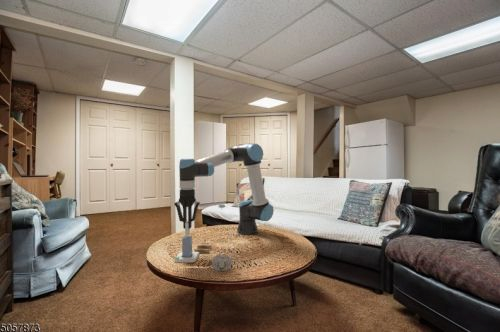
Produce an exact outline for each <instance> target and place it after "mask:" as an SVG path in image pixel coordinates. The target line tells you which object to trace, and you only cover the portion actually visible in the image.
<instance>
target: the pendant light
mask: <svg viewBox="0 0 500 332" xmlns="http://www.w3.org/2000/svg"><path fill="white" fill-rule="evenodd" d="M217 207H218V208H220V209H224V208H226V205H225V204H218V206H217ZM232 263H233V261H232V258H231V257H230V256H229V255H228V254H225V253H224V254H223V253H221V254H217V255H215V256H214V257H213V258H212V259H211V266H212V268H213V269H214V270H216V271H218V272H221V271H227V270H229V269H230V267H232Z"/></svg>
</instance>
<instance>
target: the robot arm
mask: <svg viewBox="0 0 500 332" xmlns="http://www.w3.org/2000/svg"><path fill="white" fill-rule="evenodd" d="M263 157H264V150H263V148H262V146H261V145H259V144H258V143H243V144H238V145H237V144H236V145H234V146H232V147H229V148H226V149H224V151H221V152H218V153H214V154H213V155H209V156H205V157H202V158H199V159H197V160H195V159H194V158H180V159H179V167H178V168H179V171H178V172H179V199H178V201H175V202H174V206H175V208H176V210H177V215H178V216H177V217H178V219H179V222H182V223H183V229H184V230H185V235H184V236H190V234H191V233H190V230H191V228H192V223H193V222H194V221H195V220H196V218H197V212H198V209H199V206H200V204H201V202H200V201H197V200H196V195H195V194H196V190H195V186H196V185H195V182H196V180H195V179H196V177H201V178H202V177H211V176H213V175H214V173H215V168H216V167H220V166H221V165H224V164H227V163H229V164H231V163H234V162H235V163H237V162H243V166H244V167H246V169H247V171H246V172H247V174H248V181H249V185H250V191H251V195H252V199H248V200H242V201H240V202H239V205H238V206H239V207H238V208H239V212H238V213H239V222H238V224H237V225H238V226H237V228H236V229H237V230H236V232H237V234H239V235H244V236H245V235H246V236H247V235H250V236H251V235H255V234H258V233H259V229H258V225H257V221H261V222H269V221H270V220H271V219H272V218H273V216H274V212H275V211H274V210H275V209H274V207H273V205H272V204H270V203H269V199H268V198H266V194H265V188H264V182H263V177H262V172H261V166H260V164H262V160H263ZM193 205H194V208H193ZM181 206H182V208H181ZM192 209H193V210H192ZM192 211H193V212H192ZM187 212H188V213H187ZM256 220H257V221H256Z"/></svg>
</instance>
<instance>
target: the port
mask: <svg viewBox="0 0 500 332" xmlns="http://www.w3.org/2000/svg"><path fill="white" fill-rule="evenodd" d="M199 256H200V253H199V252H194V251H192V257H182V251H180V252H179V253H178V254H177V256H175V257H174V259H173V261H174V263H196V261H197V259H198V257H199Z"/></svg>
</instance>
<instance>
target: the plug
mask: <svg viewBox="0 0 500 332" xmlns="http://www.w3.org/2000/svg"><path fill="white" fill-rule="evenodd" d="M181 240H182V241H181V242H182V243H181V244H182V246H181V248H182V249H181V252H182V257H192V252H193V235H188V236H185V235H184V236H183V237H182V239H181Z"/></svg>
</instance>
